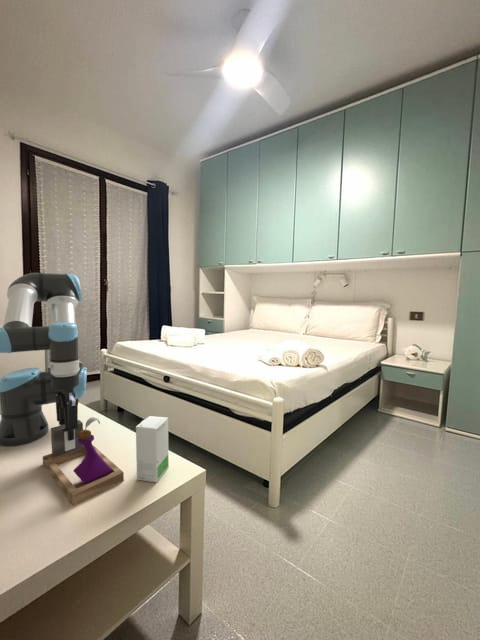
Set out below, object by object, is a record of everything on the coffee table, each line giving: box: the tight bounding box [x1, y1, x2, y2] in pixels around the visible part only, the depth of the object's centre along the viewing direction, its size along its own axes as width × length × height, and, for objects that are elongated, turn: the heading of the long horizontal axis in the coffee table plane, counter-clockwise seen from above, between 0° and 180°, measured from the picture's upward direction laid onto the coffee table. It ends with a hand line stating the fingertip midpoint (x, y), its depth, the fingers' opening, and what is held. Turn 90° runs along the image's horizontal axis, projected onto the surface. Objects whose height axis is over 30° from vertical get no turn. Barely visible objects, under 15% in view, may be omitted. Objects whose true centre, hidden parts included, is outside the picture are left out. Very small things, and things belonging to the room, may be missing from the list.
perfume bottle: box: [72, 416, 112, 485], centre depth 81 cm, size 8×8×18 cm
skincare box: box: [135, 415, 170, 483], centre depth 86 cm, size 8×7×16 cm
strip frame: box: [42, 419, 125, 506], centre depth 86 cm, size 24×13×10 cm, turn 48°
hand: (67, 446), depth 93 cm, fingers closed on strip frame, 3 cm apart
